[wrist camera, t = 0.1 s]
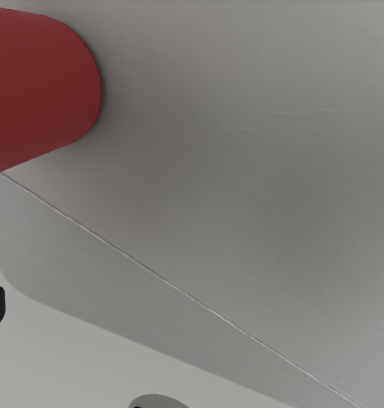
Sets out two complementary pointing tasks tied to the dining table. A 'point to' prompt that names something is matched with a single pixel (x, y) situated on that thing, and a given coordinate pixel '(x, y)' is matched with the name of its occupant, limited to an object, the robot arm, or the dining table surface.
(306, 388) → the dining table surface
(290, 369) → the dining table surface
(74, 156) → the dining table surface
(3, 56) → the beer can
